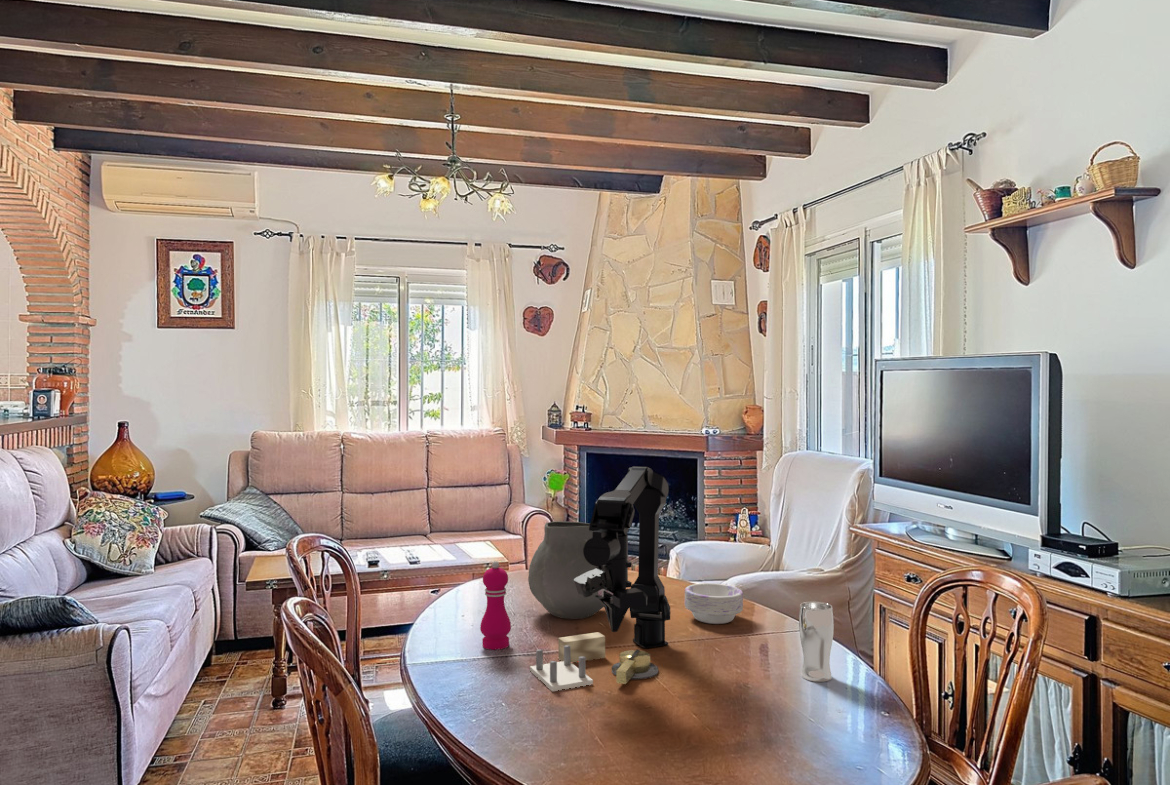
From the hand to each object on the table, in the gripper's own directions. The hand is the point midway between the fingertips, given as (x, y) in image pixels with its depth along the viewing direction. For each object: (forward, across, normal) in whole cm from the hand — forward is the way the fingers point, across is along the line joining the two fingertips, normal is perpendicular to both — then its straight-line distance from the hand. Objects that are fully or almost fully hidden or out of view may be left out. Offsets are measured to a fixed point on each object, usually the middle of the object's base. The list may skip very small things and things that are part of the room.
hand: (614, 631), depth 166 cm
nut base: (+10, -3, +6) cm, 12 cm away
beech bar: (+10, -15, -1) cm, 18 cm away
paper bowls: (+10, -29, +43) cm, 53 cm away
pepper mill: (+10, -32, -16) cm, 37 cm away
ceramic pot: (+10, -48, +11) cm, 50 cm away
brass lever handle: (+9, 0, +4) cm, 10 cm away
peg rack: (+10, -6, -10) cm, 15 cm away
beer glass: (+10, +16, +39) cm, 44 cm away
